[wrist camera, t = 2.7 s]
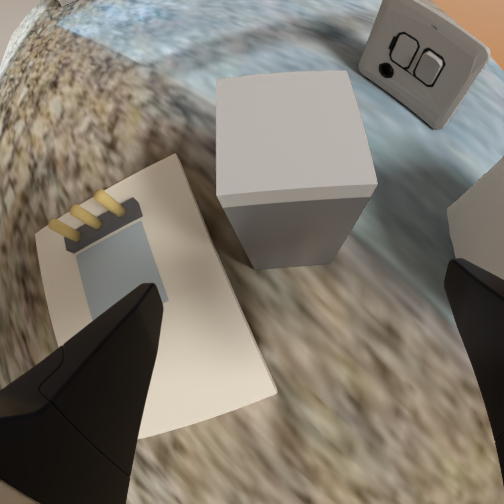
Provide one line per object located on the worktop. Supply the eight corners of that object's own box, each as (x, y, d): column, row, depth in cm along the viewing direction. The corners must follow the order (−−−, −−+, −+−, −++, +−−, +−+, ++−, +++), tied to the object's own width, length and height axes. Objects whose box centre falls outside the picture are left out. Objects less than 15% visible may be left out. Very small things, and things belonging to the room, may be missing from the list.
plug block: (330, 264, 21) (377, 184, 9) (254, 270, 21) (216, 195, 10) (321, 194, 22) (346, 70, 11) (250, 199, 23) (216, 79, 11)
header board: (277, 389, 19) (274, 408, 14) (105, 444, 19) (66, 463, 14) (180, 160, 24) (156, 122, 19) (43, 237, 24) (3, 218, 19)
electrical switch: (354, 72, 25) (375, -11, 16) (383, 55, 26) (405, -18, 17) (437, 136, 22) (486, 60, 14) (458, 112, 23) (501, 45, 15)
